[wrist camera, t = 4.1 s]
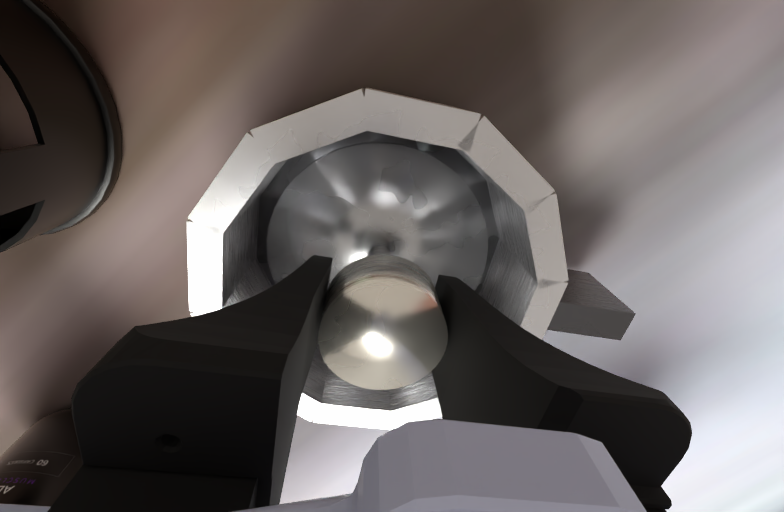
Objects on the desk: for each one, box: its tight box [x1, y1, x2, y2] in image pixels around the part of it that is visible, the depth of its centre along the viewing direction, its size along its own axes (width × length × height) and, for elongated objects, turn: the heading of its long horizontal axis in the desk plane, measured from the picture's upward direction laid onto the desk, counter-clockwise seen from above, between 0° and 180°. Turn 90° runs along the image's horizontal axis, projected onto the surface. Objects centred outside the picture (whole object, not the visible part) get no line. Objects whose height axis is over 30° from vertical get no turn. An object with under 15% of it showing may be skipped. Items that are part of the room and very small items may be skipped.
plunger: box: [267, 142, 488, 390], centre depth 13 cm, size 9×9×6 cm
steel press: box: [187, 87, 635, 430], centre depth 14 cm, size 15×12×5 cm
